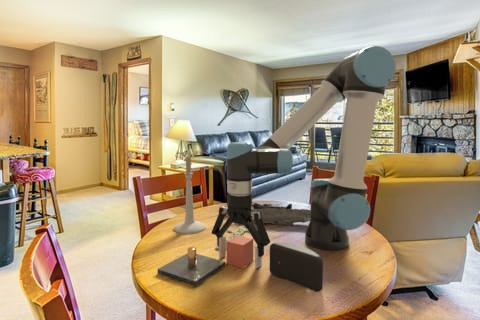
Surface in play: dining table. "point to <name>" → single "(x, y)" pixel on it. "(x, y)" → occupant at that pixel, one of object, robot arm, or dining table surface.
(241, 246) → the salmon pink cube
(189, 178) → the candlestick
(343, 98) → the robot arm
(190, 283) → the gray slab
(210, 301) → the dining table surface
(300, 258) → the leaning round-cornered charcoal block
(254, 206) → the figurine
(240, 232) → the decorative sign
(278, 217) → the stone fragment
